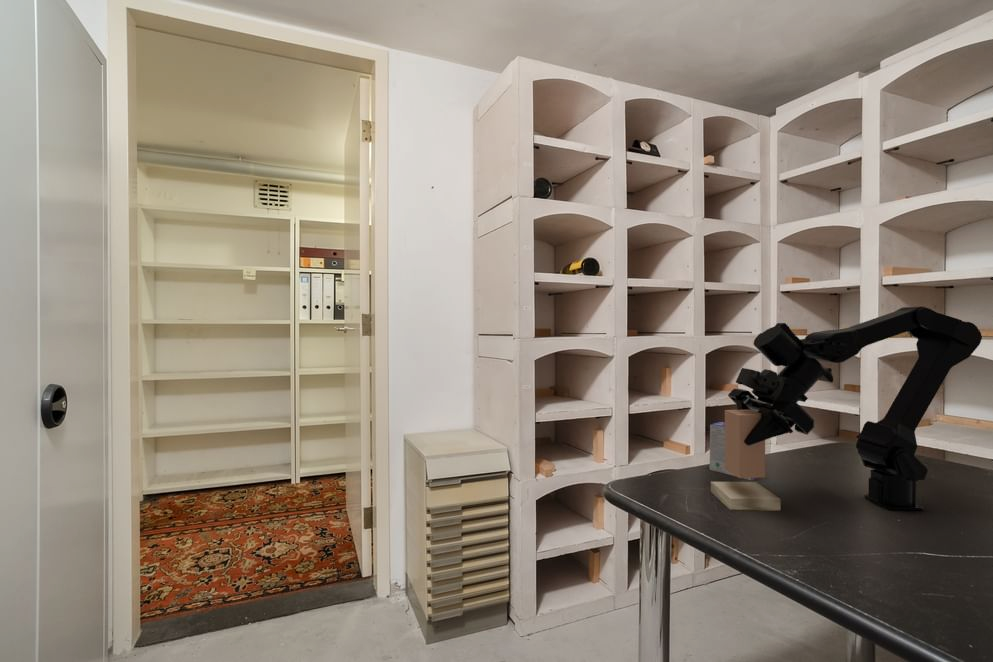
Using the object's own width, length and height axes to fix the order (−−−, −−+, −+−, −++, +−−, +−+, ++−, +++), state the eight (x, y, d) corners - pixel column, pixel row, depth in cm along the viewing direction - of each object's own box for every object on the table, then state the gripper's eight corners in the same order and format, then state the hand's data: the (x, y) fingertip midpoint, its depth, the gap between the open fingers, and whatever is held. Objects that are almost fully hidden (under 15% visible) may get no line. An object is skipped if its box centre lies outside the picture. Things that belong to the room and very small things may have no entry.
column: (749, 468, 91) (749, 409, 91) (765, 477, 86) (765, 414, 86) (725, 469, 91) (724, 410, 91) (739, 478, 86) (739, 415, 86)
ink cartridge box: (763, 481, 103) (763, 417, 103) (752, 486, 100) (752, 421, 100) (720, 470, 111) (720, 411, 111) (708, 474, 108) (708, 414, 107)
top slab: (755, 491, 93) (755, 482, 93) (780, 509, 84) (780, 499, 84) (710, 491, 94) (710, 481, 94) (730, 509, 85) (730, 498, 85)
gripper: (736, 351, 98) (686, 403, 97) (798, 357, 79) (736, 422, 79) (772, 386, 98) (722, 438, 98) (841, 401, 79) (780, 466, 79)
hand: (737, 440), depth 88 cm, fingers closed on column, 5 cm apart
